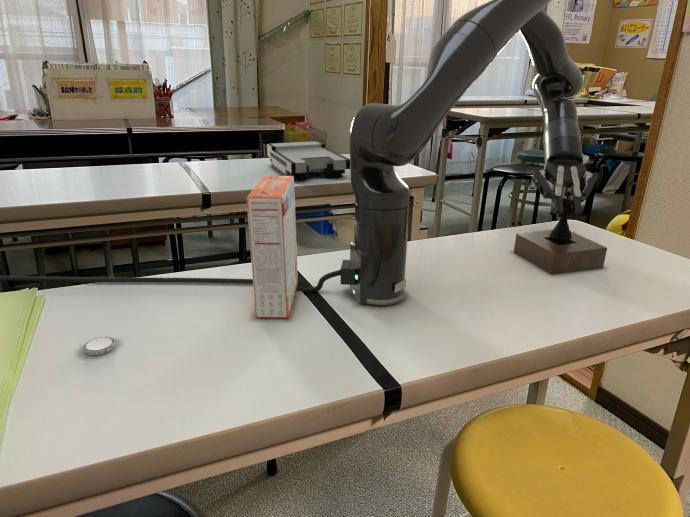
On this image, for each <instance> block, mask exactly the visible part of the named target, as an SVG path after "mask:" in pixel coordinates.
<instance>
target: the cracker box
mask: <svg viewBox="0 0 690 517" xmlns="http://www.w3.org/2000/svg"><path fill="white" fill-rule="evenodd" d="M295 192H296V191H295V181H294V176H283V175H275V174H274V175H273V174H272V175H262V176H261V178H260V179H259V180H258V182H257V183H256V185H255V186H254V187H253V189H252V190H251V191H250V192H249V194H248V195H247V196H246V209H247V223H248V224H247V225H248V233H249V235H248V236H249V247H250V260H251V261H250V262H251V274H252V279H253V284H252V288H253V298H254V312H255V318H256V319H289V318H290V315H291V312H292V307H293V303H294V299H295V295H296V291H297V290H296V288H297V286H298V285H299V284H298V283H299V276H298V274H299V272H298V248H297V224H296V223H297V221H296V198H295V196H296V194H295Z"/></svg>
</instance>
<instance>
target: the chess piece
mask: <svg viewBox="0 0 690 517" xmlns="http://www.w3.org/2000/svg"><path fill="white" fill-rule="evenodd" d="M564 195H566V197H562V199H563V215H562V216H561V217H559V220H558V222H557V223H556V224H555V226H554V227H553V228H552V229H551V230H552V231H551V233H550V237H551V238H553V239H557V240H571V239H572V236H571V232H572V231H571V229H570V226H569V223H568V217H569V214H571V210H572V209H571V205H572V204H573V201H572V200H571V197H570V195H572V193H570V191H568V190H567V191H566V192H564ZM570 231H571V232H570Z"/></svg>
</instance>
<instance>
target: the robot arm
mask: <svg viewBox="0 0 690 517" xmlns="http://www.w3.org/2000/svg"><path fill="white" fill-rule="evenodd" d="M551 1H552V0H490V1H487V2H485V3H483V4H480V5H479V6H476V7H475V8H473V9H471V10H469V11H467V12H465V13H464V14H462V15H461V16H459V17H458V18H457V19H456V20H455V21H454V22H453V23H452V24H451V25H450V26H449V27H448V29H447V30H446V31H445V32H444V33H443V34H442V35H441V36H440V37H439V38H438V40H437V41H436V42H435V44H434V45H433V47H432V48H431V52H430V55H429V59H428V64H427V65H428V66H427V73H426V78H425V80H424V81H423V83H422V84H421V85H420V86H419V88H418V89H417V90H416V91H415V92H414V93H413V94H412V95H411V97H409V98H408V99H407V100H406V101H405V102H403V103H401V104H400V105H396V104H387V103H380V102H379V103H378V102H373V103H372V102H371V103H366V104H364V105H363V106H361V107H360V108H359V109H358V110H357V111H356V113H355V114H354V117H353V118H352V121H351V125H350V129H349V159H350V169H349V171H350V184H351V187H352V190H353V192H354V238H353V241H352V242H350V244H349V245H350V247H349V251H350V252H349V259H342V261H341V266H340V269H338V270H334V271H331V272H328V273H325V274H324V275H322V276H321V277H320V278H319V280H318V282H317V285H315V286H312V287H304V286H299V285H297V288H296V291H299V292H304V293H316V292H319V291H320V290H321V289H322V288H323V285H324V284H325V282H326V281H327V280H330V279H332V278H335V277H338V276H339V277H340V285H345V286H349V292H350V293H351V294H352V296H353V297H354V299H355V300H356V301H357V302H358V304H359V305H371V306H381V307H382V306H390V305H395V304H397V303H400V302H402V301H403V300H404V298H405V296H406V295H405V294H406V293H405V292H406V289H405V288H406V287H407V278H406V270H407V268H406V267H407V266H406V265H407V255H408V254H407V252H408V237H409V236H408V235H409V221H410V220H409V219H410V205H411V204H410V203H411V189H410V187H409V186H408V184H406V183H405V182H404V181H403V180H402V179H401V178H400V177H399V176H398V174H397V171H396V170H395V167H403V166H406V165H408V164H410V163H411V162H413V161H414V160H415V159H416V158H417V157H418V156H419V155H420V154H421V152H422V151H423V150H424V149H425V147H426V146H427V144H428V143H429V142H430V140H431V138H432V137H433V136H434V134H435V133H436V131H437V130H438V128H439V127H440V126H441V124H442V123H443V121H444V120H445V118H446V117H447V115H448V114H449V113H450V111H451V110H452V109H453V108H454V107H455V105H456V104H457V103H458V101H460V99H461V98H463V95H464V94H465V93H466V92H467V90H468V89H469V88H470V87H471V86H472V85H473V84H474V82H475V81H477V79H478V78H479V77H480V76H481V75H482V74H483V73H484V72H485V71H486V69H487V68H488V67H489V66H490V65H491V64H492V62H494V60H495V59H496V58H497V56H498V55H499V54H500V52H501V51H503V49H504V48H505V47H506V46H507V45H508V43H509V42H511V40H512V39H513V38H514V37H515V36H516V35H517V34H518V32H519V33H520V34H521V36H522V38H523V40H524V42H525V44H526V46H527V49H528V52H529V56H530V59H531V61H532V65H533V68H534V70H535V72H536V73H537V75H536V76H535V77H534V79H533V81H532V91H533V94H534V97H535V99H536V101H537V103H538V105H539V107H540V110H541V113H542V123H543V134H542V135H543V136H542V147H543V158H544V167H543V169H541V170H539V169H536V170H534V172H533V174H532V176H531V177H530V178H531V180H532V182H533V184H534V186H535V187H536V189H537V190H538V191H539V193H540V195H541V197H542V198H543V199H546V200H548V199H549V200H551V202H552V209H553V210H552V211H553V214H554V215H556V218H560V217H561V216H562V215H563V196H562V189H563V188H567V192H568V191H570V193H572V195H570V196H569V198H571V200H572V201H573V204H572V205H571V209H572V210H571V212H570V214H571V218H572V219H577V217H578V216H579V215H580V214H581V212H582V202H581V201H586V200H587V198H588V196H589V195H590V194H591V192H592V190H593V189H594V187H595V184H596V183H597V181H598V178H599V177H600V174H599V172H597V171H596V172H595V171H594V172H593V173H592V172H590V171H588V170H587V167H586V166H585V165H584V157H583V155H584V154H583V145H582V144H583V143H582V136H581V130H580V126H579V116H578V107H577V105H576V103H575V102H574V101H573V100H571V99H570V98H574V97H576V96H578V95H579V94H580V93H581V91H582V90H583V87H584V75H583V73H582V71H581V69H580V68H579V66H578V65H577V64H576V63H575V62H574V60H573V59H572V58H571V56H570V55H569V52H568V47H567V44H566V43H567V42H566V40H565V36H564V34H563V31H562V30H561V28H560V26H559V25H558V24H557V23H556V21H554V19H553V18H551V16H550V15H549V14H548V13H547V12H546V11H545V10H544V8H546V6H548V5H549V3H551ZM582 178H584V182H585V186H584V188H583V190H582V191H581V182H580V181H581V180H582ZM547 180H548V181H549V182H550V183H551V186H550V184H549V183H548V182H547ZM0 281H6V282H7V281H8V282H36V283H37V282H38V283H39V282H41V283H45V282H46V283H49V282H50V283H164V284H165V283H167V284H168V283H169V284H171V283H177V284H178V283H179V284H180V283H182V284H183V283H184V284H185V283H187V284H191V283H192V284H235V285H236V284H237V285H253V278H228V277H227V278H226V277H225V278H223V277H222V278H221V277H121V276H120V277H111V276H107V277H106V276H105V277H102V276H101V277H99V276H98V277H95V276H94V277H93V276H92V277H91V276H90V277H89V276H88V277H87V276H86V277H85V276H84V277H83V276H82V277H81V276H76V277H75V276H29V275H28V276H27V275H26V276H25V275H23V276H22V275H0Z"/></svg>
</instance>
